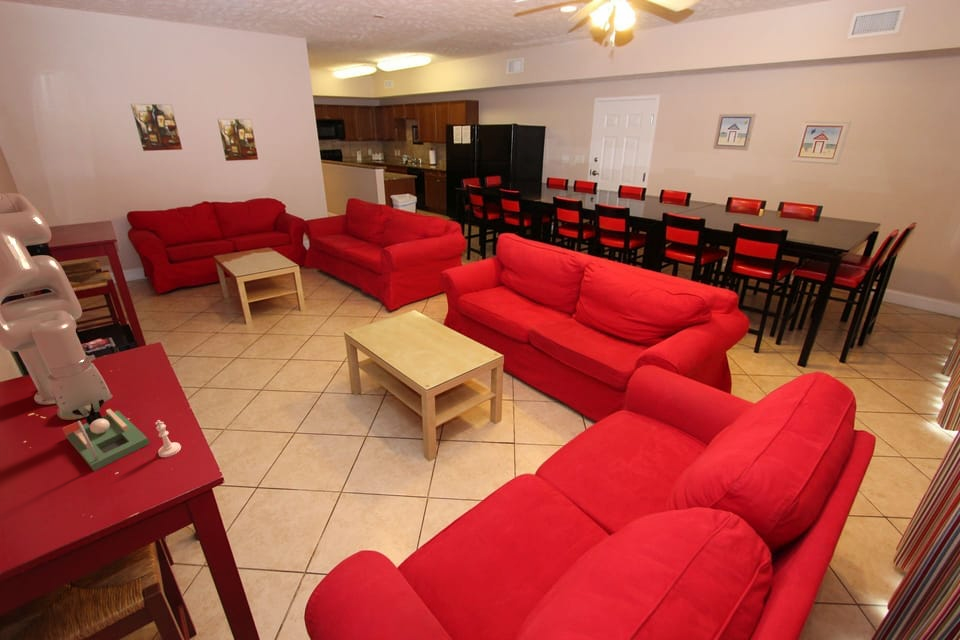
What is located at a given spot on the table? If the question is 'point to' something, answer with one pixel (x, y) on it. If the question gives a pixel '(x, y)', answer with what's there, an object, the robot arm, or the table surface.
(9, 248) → the robot arm
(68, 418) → the sea urchin shell
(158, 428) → the chess piece
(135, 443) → the mat
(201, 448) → the table surface
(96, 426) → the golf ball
